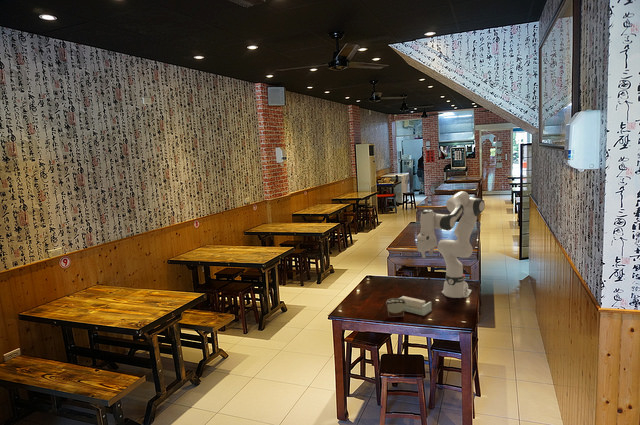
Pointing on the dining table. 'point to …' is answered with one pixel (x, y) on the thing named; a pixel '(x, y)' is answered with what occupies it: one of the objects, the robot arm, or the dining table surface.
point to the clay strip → (414, 302)
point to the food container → (395, 307)
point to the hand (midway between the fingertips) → (427, 256)
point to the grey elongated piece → (424, 311)
